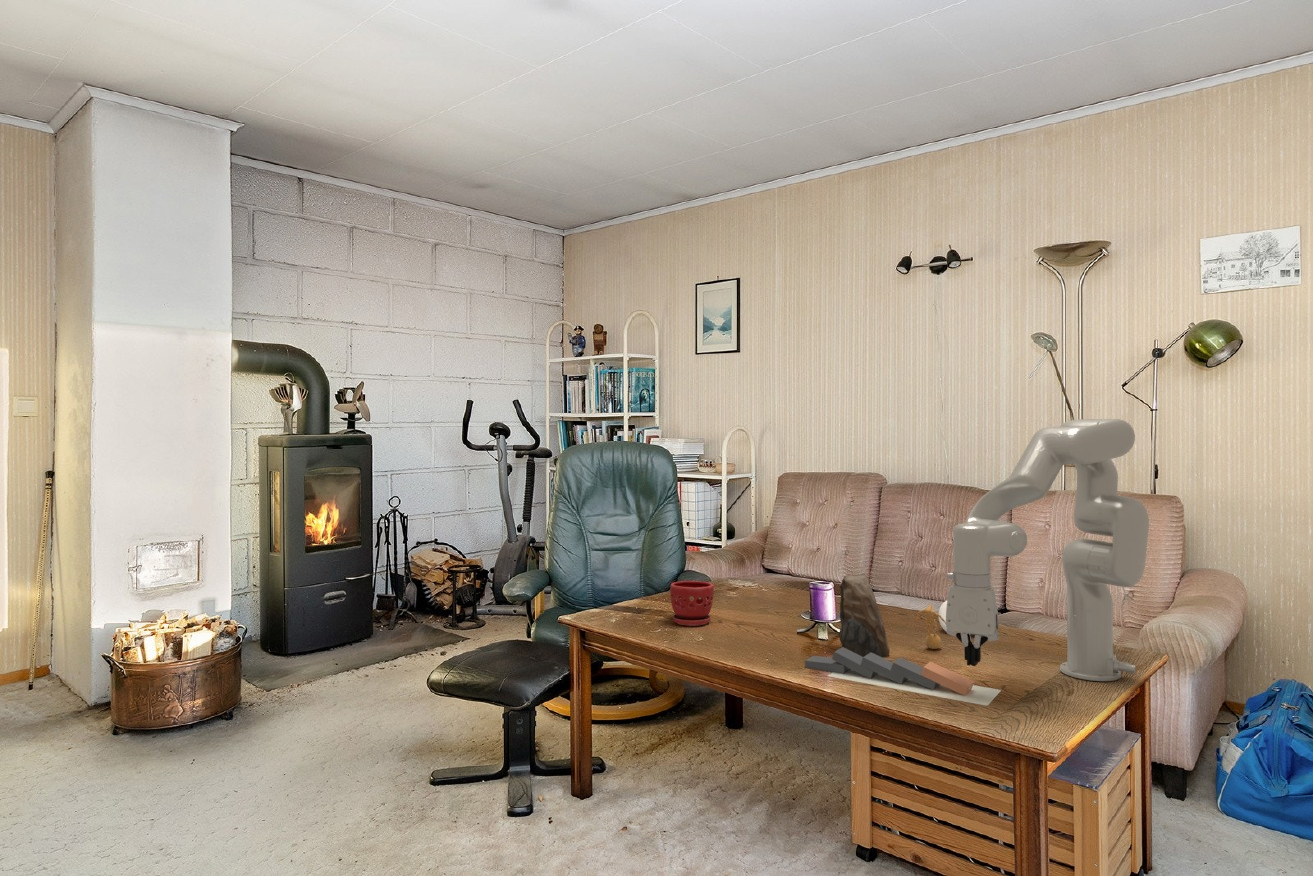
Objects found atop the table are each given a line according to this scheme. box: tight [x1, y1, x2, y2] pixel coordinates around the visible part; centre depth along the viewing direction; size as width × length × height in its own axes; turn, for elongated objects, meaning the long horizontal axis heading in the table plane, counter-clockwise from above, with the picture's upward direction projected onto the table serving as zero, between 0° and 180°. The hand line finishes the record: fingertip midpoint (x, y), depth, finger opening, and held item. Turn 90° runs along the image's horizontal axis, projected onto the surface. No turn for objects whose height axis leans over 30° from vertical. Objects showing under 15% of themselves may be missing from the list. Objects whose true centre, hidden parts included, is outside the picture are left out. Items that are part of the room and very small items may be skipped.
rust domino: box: [921, 661, 975, 696], centre depth 178 cm, size 2×5×10 cm
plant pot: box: [669, 580, 715, 627], centre depth 244 cm, size 13×13×12 cm
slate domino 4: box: [891, 657, 940, 690], centre depth 182 cm, size 2×5×10 cm
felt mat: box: [827, 669, 1002, 707], centre depth 183 cm, size 36×12×1 cm, turn 54°
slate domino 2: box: [831, 646, 878, 679], centre depth 191 cm, size 2×5×10 cm
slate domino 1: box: [804, 655, 850, 673], centre depth 195 cm, size 2×5×10 cm
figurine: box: [915, 604, 946, 650], centre depth 211 cm, size 8×6×12 cm
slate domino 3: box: [861, 653, 908, 684], centre depth 187 cm, size 2×5×10 cm
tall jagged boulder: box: [838, 572, 891, 658], centre depth 209 cm, size 13×13×20 cm
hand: (972, 664), depth 175 cm, fingers closed
